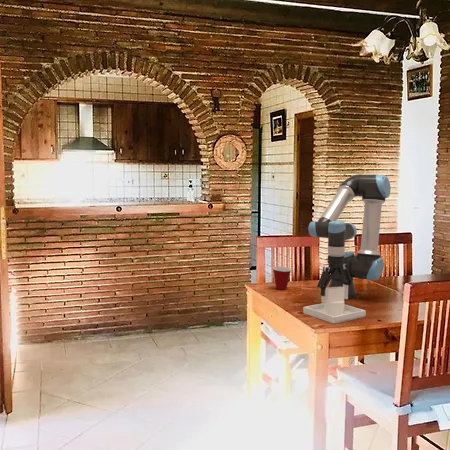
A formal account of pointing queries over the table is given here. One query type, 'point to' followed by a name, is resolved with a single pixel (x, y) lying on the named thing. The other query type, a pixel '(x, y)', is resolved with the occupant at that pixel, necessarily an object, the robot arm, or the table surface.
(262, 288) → the table surface
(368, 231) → the robot arm
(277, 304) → the table surface
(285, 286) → the plastic cup
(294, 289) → the table surface
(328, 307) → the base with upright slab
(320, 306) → the tray
